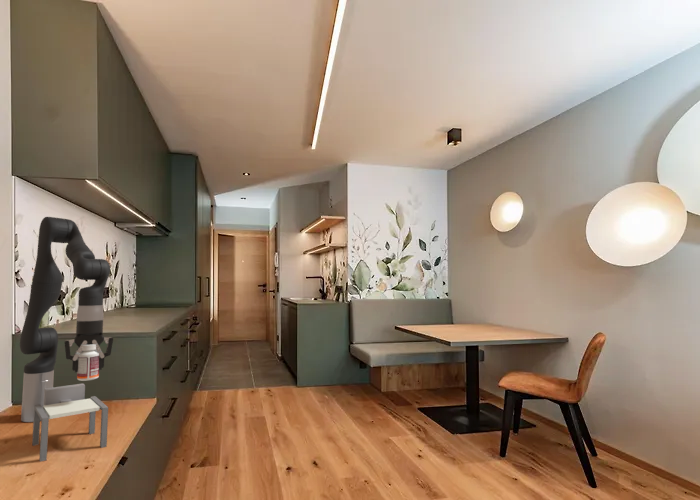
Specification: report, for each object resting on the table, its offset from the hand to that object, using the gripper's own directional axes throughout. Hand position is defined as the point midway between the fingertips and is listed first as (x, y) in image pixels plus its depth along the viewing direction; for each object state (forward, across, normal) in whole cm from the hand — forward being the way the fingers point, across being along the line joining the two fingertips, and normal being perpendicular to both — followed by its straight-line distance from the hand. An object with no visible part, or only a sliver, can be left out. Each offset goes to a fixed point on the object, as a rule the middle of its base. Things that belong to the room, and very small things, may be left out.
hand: (88, 370), depth 142 cm
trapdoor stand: (+22, +4, +2) cm, 23 cm away
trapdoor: (+11, +5, 0) cm, 12 cm away
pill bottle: (+3, 0, 0) cm, 3 cm away
